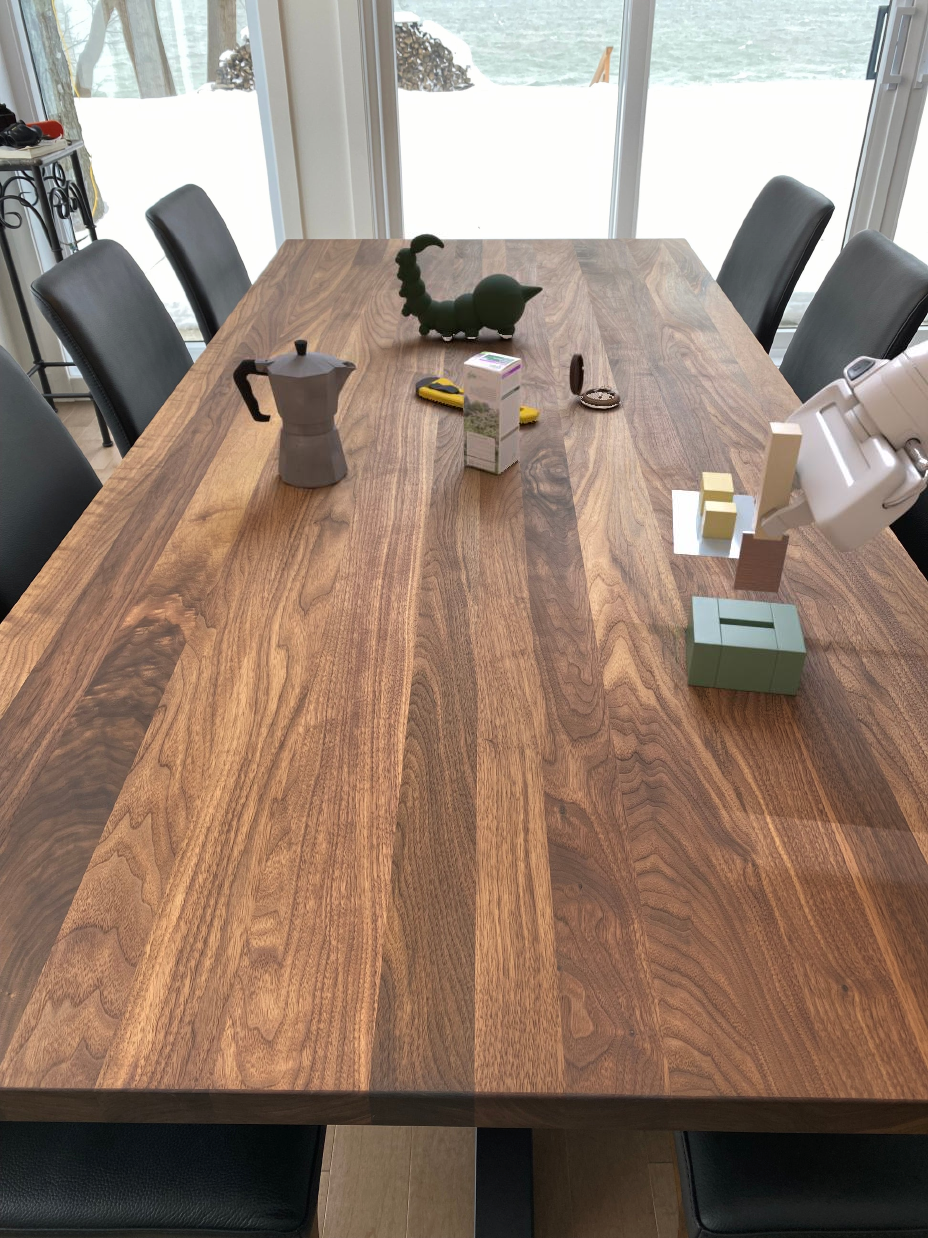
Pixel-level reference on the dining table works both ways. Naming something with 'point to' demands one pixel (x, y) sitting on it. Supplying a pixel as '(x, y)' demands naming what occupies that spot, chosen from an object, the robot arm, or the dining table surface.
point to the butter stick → (715, 488)
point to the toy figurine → (460, 299)
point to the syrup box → (491, 411)
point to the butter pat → (718, 520)
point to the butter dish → (690, 523)
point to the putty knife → (757, 550)
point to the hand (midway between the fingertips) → (761, 519)
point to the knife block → (744, 645)
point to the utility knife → (458, 396)
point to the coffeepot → (302, 412)
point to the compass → (576, 387)
